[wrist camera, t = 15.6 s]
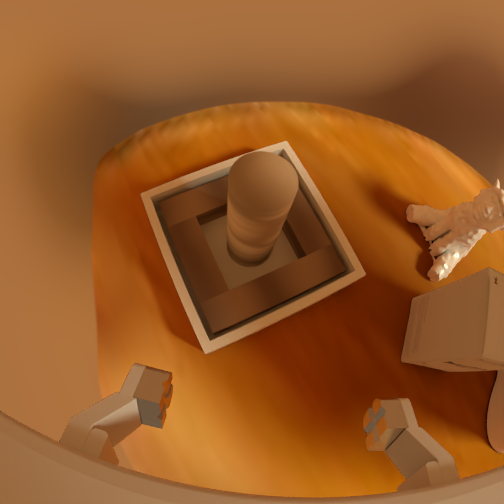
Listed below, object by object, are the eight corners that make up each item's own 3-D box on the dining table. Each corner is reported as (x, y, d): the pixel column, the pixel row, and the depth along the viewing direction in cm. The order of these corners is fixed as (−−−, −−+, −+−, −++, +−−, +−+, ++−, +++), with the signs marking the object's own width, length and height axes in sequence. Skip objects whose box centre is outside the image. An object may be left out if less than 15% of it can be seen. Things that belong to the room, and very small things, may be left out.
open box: (280, 162, 35) (286, 140, 31) (350, 284, 31) (366, 274, 27) (148, 212, 32) (140, 193, 28) (207, 354, 28) (204, 354, 24)
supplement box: (397, 363, 29) (480, 357, 17) (411, 296, 31) (489, 262, 19) (447, 374, 29) (530, 369, 17) (457, 312, 31) (536, 287, 19)
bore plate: (277, 170, 34) (280, 157, 31) (336, 276, 30) (345, 269, 28) (162, 214, 31) (158, 202, 29) (214, 335, 28) (213, 333, 25)
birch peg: (259, 217, 32) (278, 143, 20) (280, 256, 31) (311, 196, 19) (219, 234, 31) (217, 164, 19) (238, 274, 30) (246, 221, 18)
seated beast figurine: (400, 210, 35) (456, 155, 23) (446, 200, 36) (501, 153, 25) (428, 285, 32) (500, 251, 20) (473, 266, 33) (538, 232, 22)
